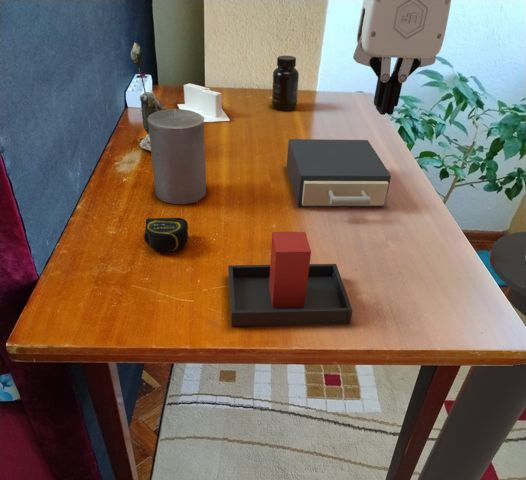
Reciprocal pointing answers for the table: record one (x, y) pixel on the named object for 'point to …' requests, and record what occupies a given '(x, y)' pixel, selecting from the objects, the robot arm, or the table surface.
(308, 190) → the drawer
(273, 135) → the table surface
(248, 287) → the tray
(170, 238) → the tape measure
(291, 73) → the supplement bottle
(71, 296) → the table surface
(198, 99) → the napkin holder
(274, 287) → the card box
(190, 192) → the pillar candle
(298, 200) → the cabinet
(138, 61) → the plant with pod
